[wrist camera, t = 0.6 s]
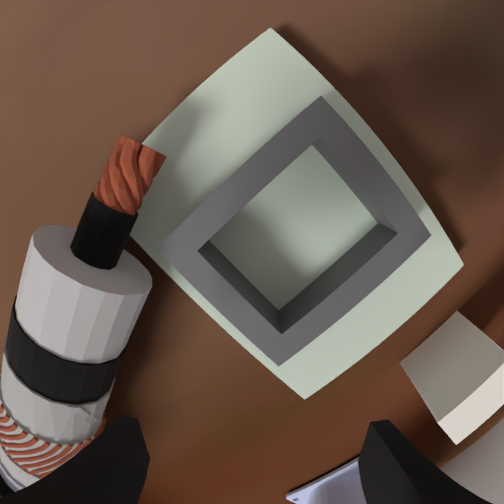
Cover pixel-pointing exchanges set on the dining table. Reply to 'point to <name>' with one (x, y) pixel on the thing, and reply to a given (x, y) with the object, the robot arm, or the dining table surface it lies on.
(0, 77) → the dining table surface
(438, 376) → the plug
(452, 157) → the dining table surface
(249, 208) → the board
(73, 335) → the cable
